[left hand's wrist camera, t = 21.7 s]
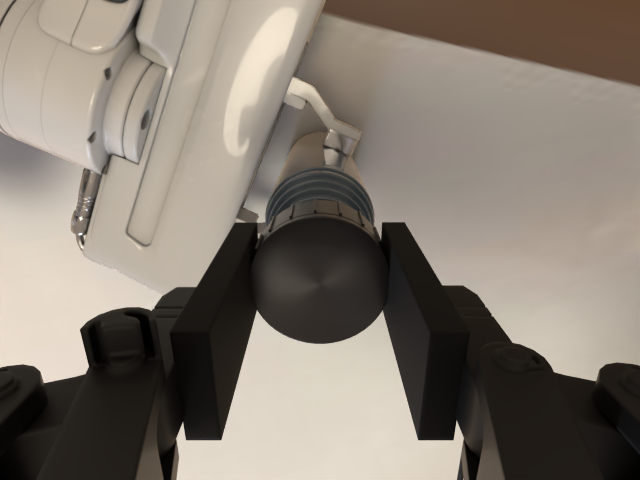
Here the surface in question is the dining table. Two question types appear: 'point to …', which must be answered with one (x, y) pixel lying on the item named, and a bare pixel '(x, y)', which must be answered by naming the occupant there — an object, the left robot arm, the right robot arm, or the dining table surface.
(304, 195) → the bottle
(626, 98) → the dining table surface
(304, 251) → the cap
